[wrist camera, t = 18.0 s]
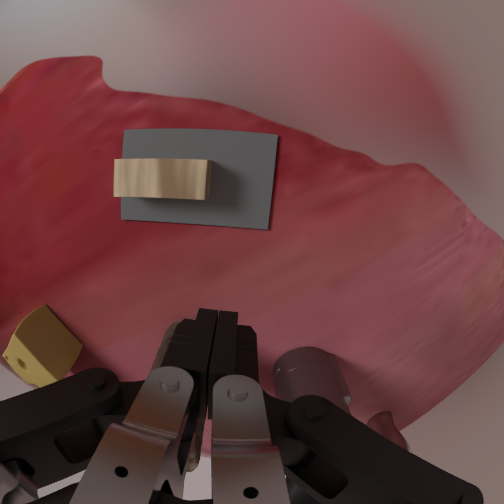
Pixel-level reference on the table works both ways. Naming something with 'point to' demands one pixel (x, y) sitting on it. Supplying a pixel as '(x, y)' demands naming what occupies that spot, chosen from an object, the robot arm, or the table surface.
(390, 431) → the beer glass
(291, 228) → the table surface
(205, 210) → the mat
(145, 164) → the block
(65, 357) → the cheese
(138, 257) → the table surface
